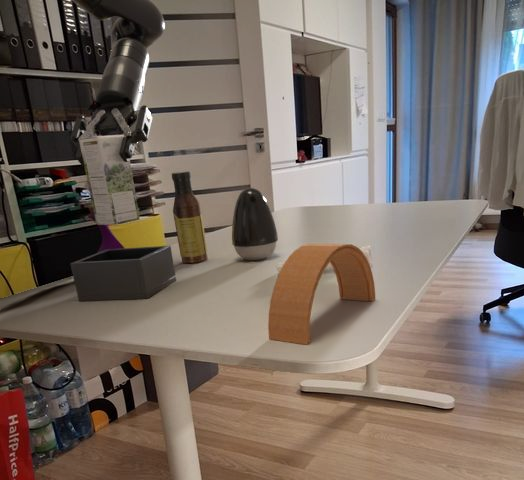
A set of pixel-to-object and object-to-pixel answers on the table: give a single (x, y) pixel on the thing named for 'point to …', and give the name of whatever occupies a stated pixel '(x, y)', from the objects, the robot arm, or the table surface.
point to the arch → (315, 286)
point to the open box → (124, 273)
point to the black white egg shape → (253, 226)
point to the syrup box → (109, 180)
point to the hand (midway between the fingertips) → (102, 160)
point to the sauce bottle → (188, 220)
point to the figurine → (365, 250)
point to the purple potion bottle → (106, 235)
